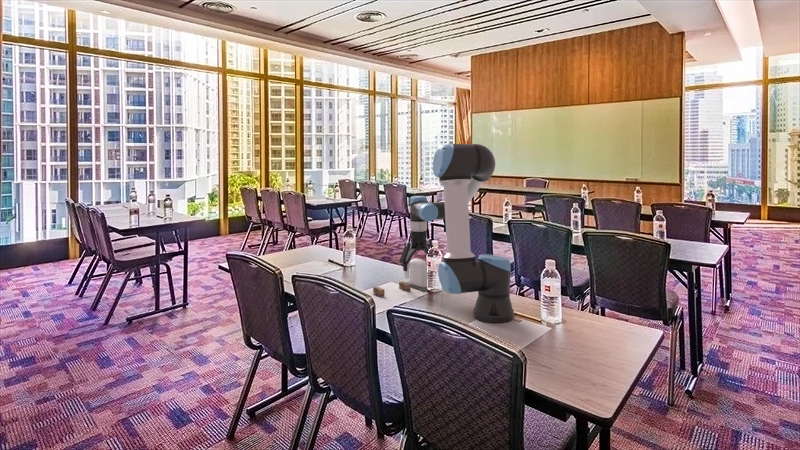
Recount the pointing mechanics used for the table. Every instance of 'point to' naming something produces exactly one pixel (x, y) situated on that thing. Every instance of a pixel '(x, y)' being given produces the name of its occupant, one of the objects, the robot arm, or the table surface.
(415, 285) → the mat
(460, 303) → the table surface
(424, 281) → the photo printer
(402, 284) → the cradle
